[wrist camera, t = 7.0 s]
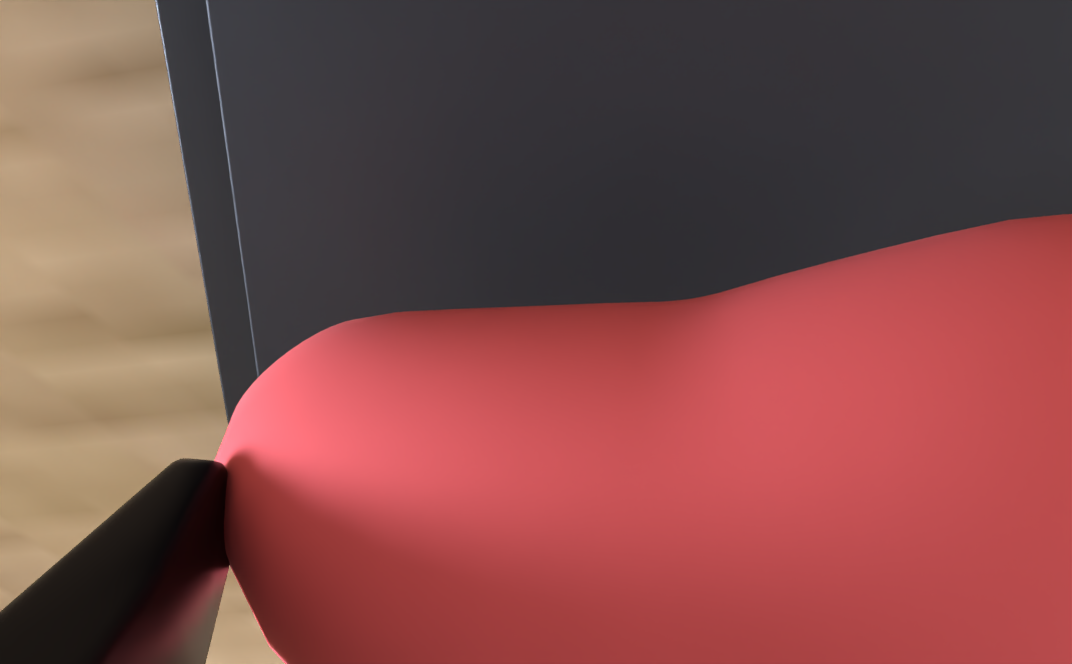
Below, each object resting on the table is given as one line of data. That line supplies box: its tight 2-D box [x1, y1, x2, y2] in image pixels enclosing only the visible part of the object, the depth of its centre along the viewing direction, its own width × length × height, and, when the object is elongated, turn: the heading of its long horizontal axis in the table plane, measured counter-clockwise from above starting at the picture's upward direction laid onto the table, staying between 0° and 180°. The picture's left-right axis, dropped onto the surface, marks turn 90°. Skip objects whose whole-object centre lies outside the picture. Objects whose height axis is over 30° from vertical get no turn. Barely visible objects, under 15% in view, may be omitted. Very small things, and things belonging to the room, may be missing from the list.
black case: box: [155, 0, 1072, 425], centre depth 13 cm, size 13×12×4 cm
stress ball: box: [214, 214, 1072, 664], centre depth 9 cm, size 5×9×6 cm, turn 92°
